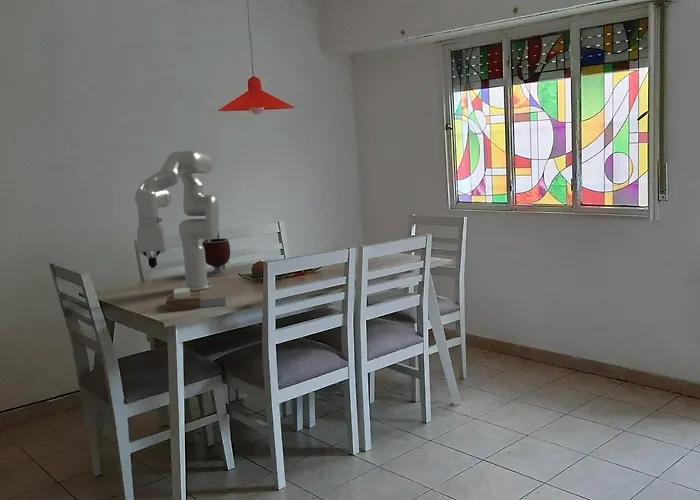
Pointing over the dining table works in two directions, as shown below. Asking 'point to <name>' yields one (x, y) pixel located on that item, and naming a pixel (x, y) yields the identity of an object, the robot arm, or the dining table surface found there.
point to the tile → (182, 293)
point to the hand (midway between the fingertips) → (153, 267)
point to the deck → (184, 302)
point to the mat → (213, 302)
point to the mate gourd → (217, 255)
